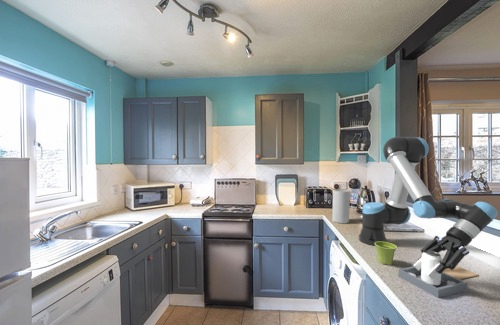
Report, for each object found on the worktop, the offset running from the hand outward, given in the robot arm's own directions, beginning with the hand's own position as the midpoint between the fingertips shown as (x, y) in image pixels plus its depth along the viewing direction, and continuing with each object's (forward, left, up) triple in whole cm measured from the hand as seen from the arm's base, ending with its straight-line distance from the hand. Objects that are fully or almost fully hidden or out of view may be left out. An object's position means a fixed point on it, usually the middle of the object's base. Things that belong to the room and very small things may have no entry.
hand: (422, 272), depth 95 cm
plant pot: (-19, +1, -5) cm, 20 cm away
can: (+1, +3, -4) cm, 6 cm away
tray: (+1, +3, -5) cm, 6 cm away
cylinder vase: (-85, +29, -5) cm, 90 cm away
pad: (-3, +24, -5) cm, 25 cm away
